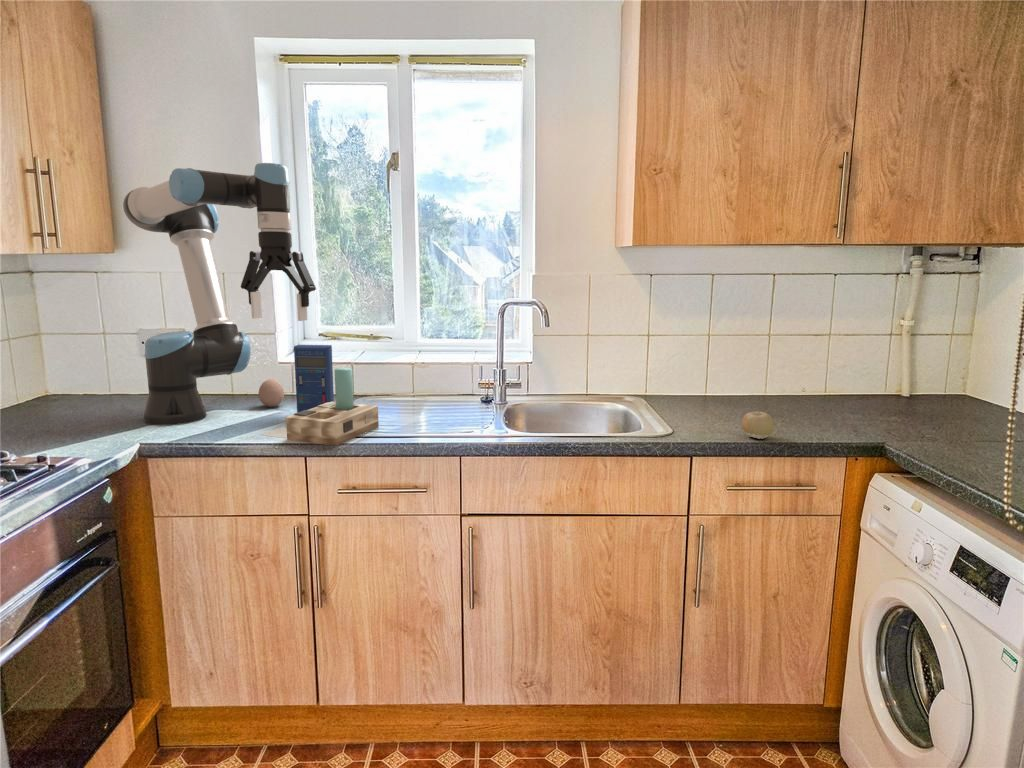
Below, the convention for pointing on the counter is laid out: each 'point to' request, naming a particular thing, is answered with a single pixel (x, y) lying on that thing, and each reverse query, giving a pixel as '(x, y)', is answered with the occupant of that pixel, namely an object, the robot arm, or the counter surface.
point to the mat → (277, 433)
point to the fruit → (757, 423)
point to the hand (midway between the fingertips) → (279, 319)
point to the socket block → (331, 424)
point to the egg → (271, 393)
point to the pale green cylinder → (344, 389)
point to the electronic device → (313, 376)
